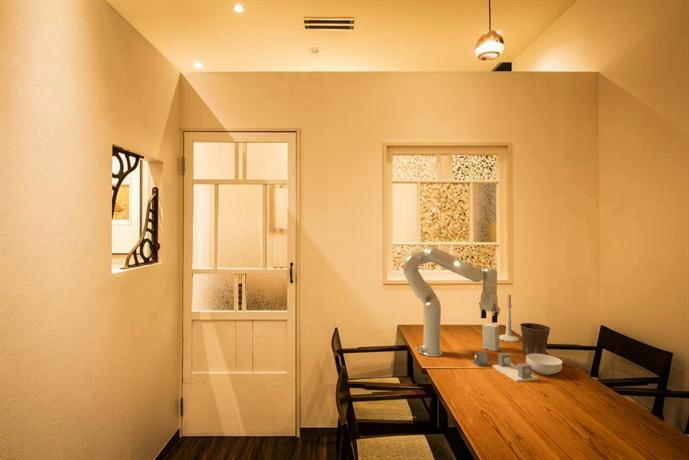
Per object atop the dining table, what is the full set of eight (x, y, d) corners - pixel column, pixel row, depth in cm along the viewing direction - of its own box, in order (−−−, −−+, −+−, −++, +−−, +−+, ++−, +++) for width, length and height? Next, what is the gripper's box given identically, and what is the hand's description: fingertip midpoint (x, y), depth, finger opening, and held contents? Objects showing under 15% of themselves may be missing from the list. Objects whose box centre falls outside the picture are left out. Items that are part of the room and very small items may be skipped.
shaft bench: (516, 381, 185) (516, 367, 185) (491, 366, 205) (491, 353, 205) (538, 379, 188) (538, 365, 188) (511, 365, 208) (511, 352, 207)
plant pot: (543, 349, 234) (543, 323, 234) (555, 358, 218) (555, 330, 218) (515, 348, 236) (515, 322, 236) (525, 357, 220) (525, 329, 220)
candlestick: (493, 337, 258) (494, 292, 258) (507, 335, 263) (508, 291, 263) (509, 343, 246) (510, 296, 246) (523, 340, 252) (524, 295, 251)
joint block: (477, 366, 205) (477, 355, 205) (472, 363, 209) (472, 352, 209) (488, 365, 206) (488, 354, 206) (483, 362, 211) (483, 351, 211)
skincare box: (499, 349, 233) (500, 325, 233) (495, 351, 229) (495, 327, 229) (486, 346, 239) (486, 322, 239) (481, 348, 235) (482, 324, 235)
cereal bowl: (567, 380, 188) (567, 365, 188) (530, 377, 192) (530, 363, 191) (555, 367, 205) (555, 354, 205) (522, 364, 208) (522, 351, 208)
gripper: (474, 287, 225) (474, 317, 225) (493, 293, 208) (493, 324, 208) (485, 287, 227) (485, 316, 227) (505, 292, 210) (504, 323, 210)
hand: (489, 320), depth 218 cm, fingers open, 9 cm apart
